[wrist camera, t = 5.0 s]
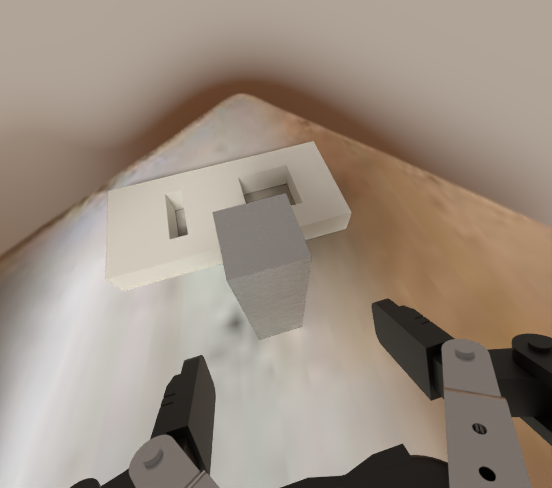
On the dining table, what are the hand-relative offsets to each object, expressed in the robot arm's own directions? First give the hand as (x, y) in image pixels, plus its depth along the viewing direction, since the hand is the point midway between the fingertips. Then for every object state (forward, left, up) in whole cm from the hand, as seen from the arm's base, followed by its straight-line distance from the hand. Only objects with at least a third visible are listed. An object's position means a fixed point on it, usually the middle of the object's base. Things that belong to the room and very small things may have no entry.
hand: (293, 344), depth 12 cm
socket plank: (-2, +17, -12) cm, 21 cm away
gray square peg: (0, +5, -12) cm, 13 cm away
